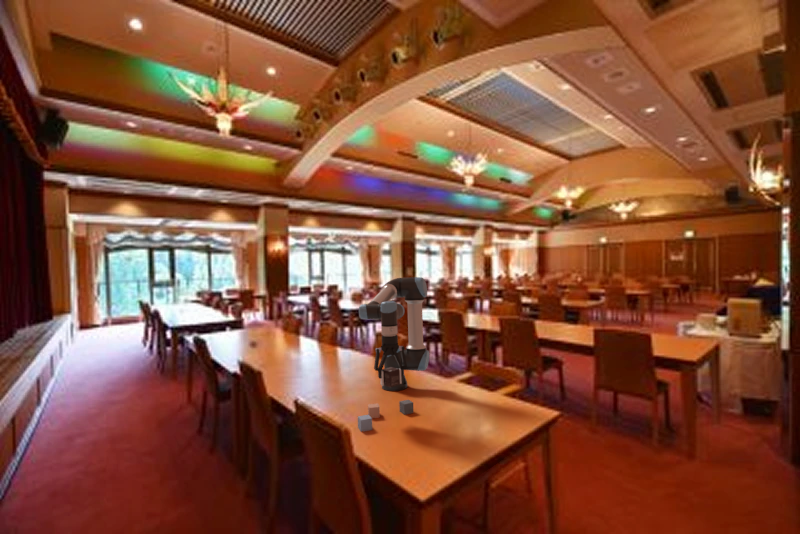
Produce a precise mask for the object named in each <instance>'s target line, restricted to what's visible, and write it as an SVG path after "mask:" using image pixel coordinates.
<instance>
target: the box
mask: <svg viewBox="0 0 800 534" xmlns="http://www.w3.org/2000/svg"><path fill="white" fill-rule="evenodd" d="M382 371H383V379H384V386H388V387H393V386H396V385H399V384H400V371H399V369H398V368H393V367H389V368H385V369H384V368H382Z"/></svg>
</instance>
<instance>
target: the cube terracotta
mask: <svg viewBox="0 0 800 534" xmlns="http://www.w3.org/2000/svg"><path fill="white" fill-rule="evenodd" d="M380 412H381V411H380V404H379V403H377V402H376V403H368V404H367V413H368V414H367V415H369V416H370V417H371V418H372V419H377V418H381V415H380V414H381V413H380Z"/></svg>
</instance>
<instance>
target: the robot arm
mask: <svg viewBox="0 0 800 534" xmlns="http://www.w3.org/2000/svg"><path fill="white" fill-rule="evenodd" d="M427 296H428V286H427V283H426V279H425V278H423V277H421V276H420V277H419V276H415V277H413V276H412V277H396V278H393V279H391V280H389V281H388V282H387V281H386V283H385V284H384V285H383V286H381V289H380V291H379V292H378V293H377V294H376V295H375V296H374V297H373V298H372V300H370V301H369V303H362V304H360V305H359V308H358V315H359V318H360V319H361V320H381V321H380V325H381V326H380V329H381V331H380V332H381V334H380V335H381V347H375V348H374V349H375V358H374V359H375V360H374V366H373V369H374V371H376V372H377V374H378V375H377V377H378V379H380V385H381V388H382V389H383V390H385V391H389V392H391V391H392V392H394V391H395V392H397V391H402V390H406V389H407V388H408V382H407V379H406V376H405V371H425V370H427V368H428V366H429V363H430V362H429V361H430V351H429V349H427V347H426V345H425V344H424V332H423V331H424V327H423V325H424V323H423V321H424V319H423V303H424V301H425V298H427ZM395 298H404V302H406V303H407V304H406V305H407V327H408V328H407V330H408V331H407V333H408V336H407V337H408V343H407V345H406V347H405V346H404V345H399V336H398V335H397V334H398V320H400V319H401V318H402V317H403V316H404V315H405V307H404V305H402V304H401V303H397V302H396V301H393V300H394V299H395ZM381 352H383V353H382V357H381V360H380V355H381V354H380V353H381ZM389 367H393V368H398V369H399V371H400V384H399V385H396V386H393V387H388V386H384V379H383V371H382V369H385V368H389Z"/></svg>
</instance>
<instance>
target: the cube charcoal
mask: <svg viewBox="0 0 800 534" xmlns="http://www.w3.org/2000/svg"><path fill="white" fill-rule="evenodd" d="M398 403H399V405H398V406H399V412H400V413H401V414H403V415H404V416H405V415H409V414H413V413H415V411H414V401H411V400H410V399H403V400H399V401H398Z"/></svg>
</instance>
